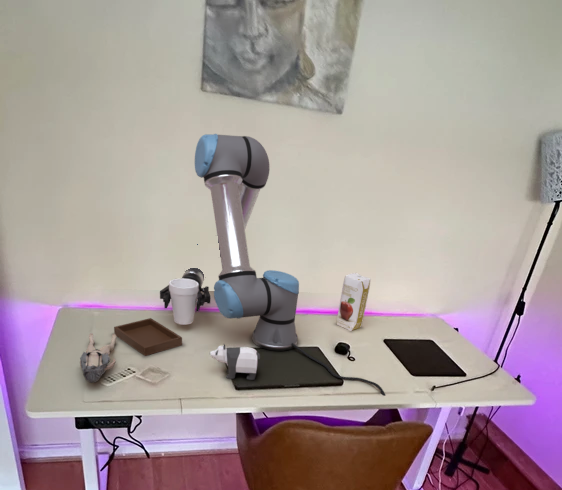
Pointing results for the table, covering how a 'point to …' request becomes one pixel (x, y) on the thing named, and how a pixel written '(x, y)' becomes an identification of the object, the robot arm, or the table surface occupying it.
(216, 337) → the table surface
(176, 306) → the foam cup
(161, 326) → the tray
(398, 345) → the table surface
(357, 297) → the juice carton
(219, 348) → the giant panda
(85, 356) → the anime figure
